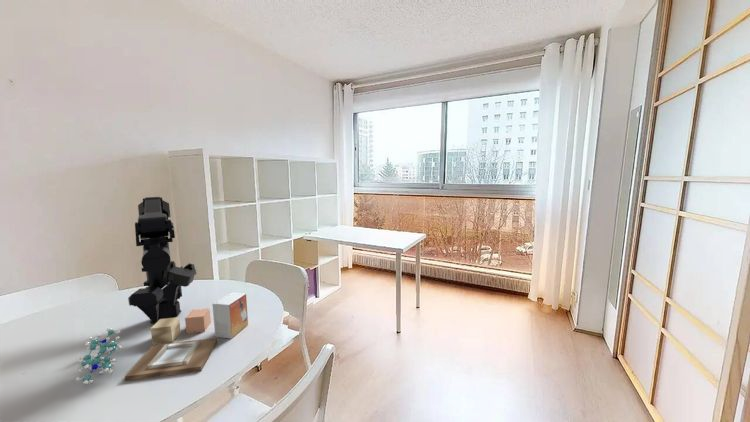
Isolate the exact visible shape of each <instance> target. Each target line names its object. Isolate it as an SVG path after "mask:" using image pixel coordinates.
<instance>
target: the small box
mask: <svg viewBox="0 0 750 422" xmlns="http://www.w3.org/2000/svg"><path fill="white" fill-rule="evenodd" d="M247 304H248V303H247V293H242V292H241V293H240V292H229V293H228V294H226V295H225V296H223V297H221V298H220V299H217V301H215V302H213V303H212V314H213V325H214V336H215V337H214V338H223V339H233V338H234V337H235V336H236V335H238V334H239V333H240V332H242V330H243V329H245V328H247V326H248V325H249V316H248V305H247Z"/></svg>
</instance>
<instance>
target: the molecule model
mask: <svg viewBox="0 0 750 422" xmlns="http://www.w3.org/2000/svg"><path fill="white" fill-rule="evenodd" d="M105 331H106V332H107V334H108V335H107V337H106V338H105V339H102V340H100V341H99V340H98V339H99V338H100V337H101V336H102V334H100V333H98V334H97V335H96V337H95V338H94V339H93V337H92V336H89V337H88V338H87V340H89V341H86V342H85V344H84V346H85V347H87V348H86V350H88V351H89V353H88V354H86V355H84V356H83V357H81V356H80V357H77V359H76V363H80V366H81V368H79V369H78V373H83V372H84V369H89V371H90V372H89V374H87V375H84V376H83V377H80V376H77V377H76V378H75V381H76V382H79V381H80V380H82V382H83V384H84V385H87V384H93V383H94V379H91V378H92V376H91V374H92V373H93V372H94V371H96V370H97V369H98V368H99V369H101V370H99V373H98V374H99V375H102V374H104V372H105V373H108V374H112V373H113V371H114V370H113V369H111V368H112V367H114V366H115V365H116V360H117V359H116V358H112V357H111V354H112V353H113V352H115V351H116V350H122V349H123V346H122V345H120V344H118V342H117V341H118V340H119V339H121V338H120V336H115V341H114V340H111V337H110V336H113V335H114V334H115V333H116V334H120V333H121V330H117V331H115V330H114V329H113V328H112V327H107V328H106V330H105ZM109 340H111V341H110V342H109ZM108 342H109V343H108ZM95 350H99V351H98V352H97V353H94V354H93V355H91V353H92V351H95ZM107 353H108V356H106V357H104V356H102V355H103V354H107ZM99 364H100V365H99ZM90 365H91V366H90Z"/></svg>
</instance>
